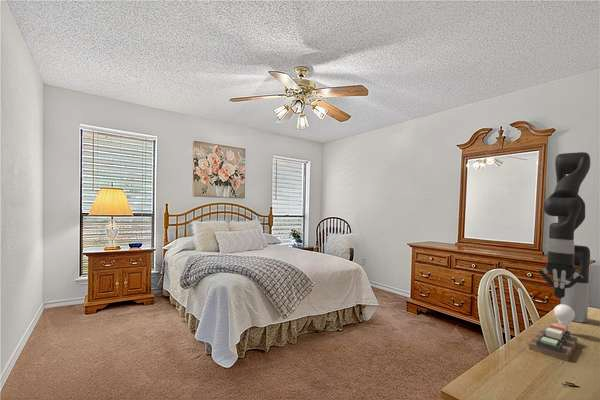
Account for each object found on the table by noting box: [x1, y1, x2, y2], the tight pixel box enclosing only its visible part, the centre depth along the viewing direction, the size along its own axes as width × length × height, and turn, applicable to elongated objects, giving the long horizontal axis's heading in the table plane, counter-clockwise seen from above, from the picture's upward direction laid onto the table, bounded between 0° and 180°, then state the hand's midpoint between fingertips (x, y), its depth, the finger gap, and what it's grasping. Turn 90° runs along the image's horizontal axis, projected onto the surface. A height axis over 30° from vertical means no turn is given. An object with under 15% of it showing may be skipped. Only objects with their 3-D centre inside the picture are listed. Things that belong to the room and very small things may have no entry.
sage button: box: [541, 337, 558, 347], centre depth 102 cm, size 4×4×2 cm
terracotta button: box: [549, 322, 567, 334], centre depth 113 cm, size 4×4×2 cm
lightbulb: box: [553, 304, 575, 331], centre depth 121 cm, size 6×6×11 cm
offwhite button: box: [545, 326, 563, 340], centre depth 107 cm, size 4×4×2 cm
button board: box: [528, 326, 578, 362], centre depth 107 cm, size 22×10×4 cm, turn 131°
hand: (559, 297), depth 113 cm, fingers closed
